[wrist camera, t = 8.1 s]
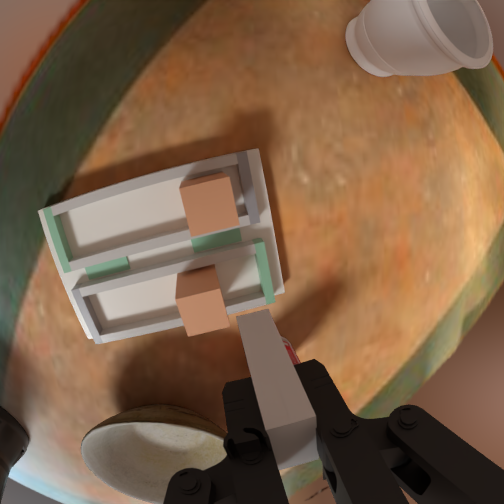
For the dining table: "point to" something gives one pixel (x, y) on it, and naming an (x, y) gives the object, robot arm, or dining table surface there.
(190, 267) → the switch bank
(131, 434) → the bowl
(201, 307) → the tab
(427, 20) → the jar
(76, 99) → the dining table surface
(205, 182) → the tab
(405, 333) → the dining table surface
